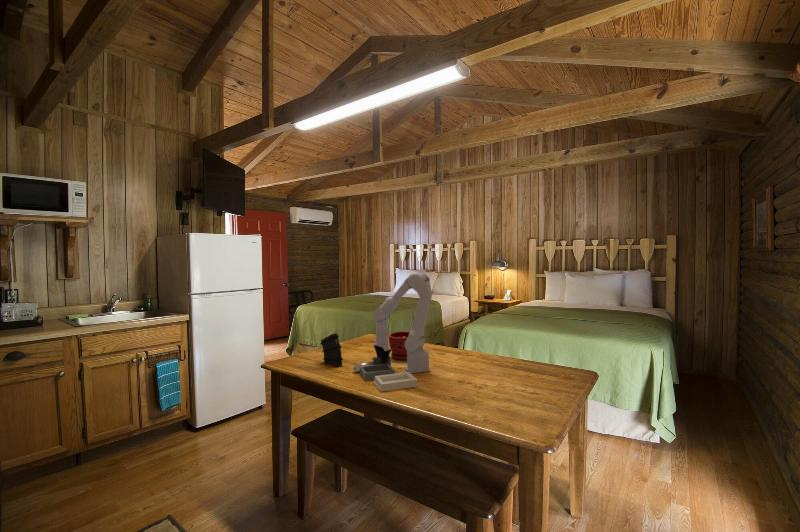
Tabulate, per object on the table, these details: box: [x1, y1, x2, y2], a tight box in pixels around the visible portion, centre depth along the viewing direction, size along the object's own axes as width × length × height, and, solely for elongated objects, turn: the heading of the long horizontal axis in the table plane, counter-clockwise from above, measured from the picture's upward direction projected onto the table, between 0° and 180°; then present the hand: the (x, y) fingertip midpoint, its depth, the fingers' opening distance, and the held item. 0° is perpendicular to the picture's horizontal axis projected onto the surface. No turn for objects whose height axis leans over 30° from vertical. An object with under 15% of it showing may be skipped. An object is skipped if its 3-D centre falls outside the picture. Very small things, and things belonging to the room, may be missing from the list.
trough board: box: [372, 371, 419, 392], centre depth 156 cm, size 16×10×3 cm, turn 109°
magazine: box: [319, 332, 344, 368], centre depth 185 cm, size 4×13×15 cm, turn 45°
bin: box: [359, 363, 396, 381], centre depth 168 cm, size 13×10×3 cm
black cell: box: [371, 355, 392, 365], centre depth 183 cm, size 9×4×4 cm
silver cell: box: [353, 361, 374, 374], centre depth 173 cm, size 9×4×4 cm, turn 109°
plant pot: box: [388, 331, 411, 361], centre depth 194 cm, size 13×13×12 cm
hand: (382, 362), depth 182 cm, fingers open, 7 cm apart
